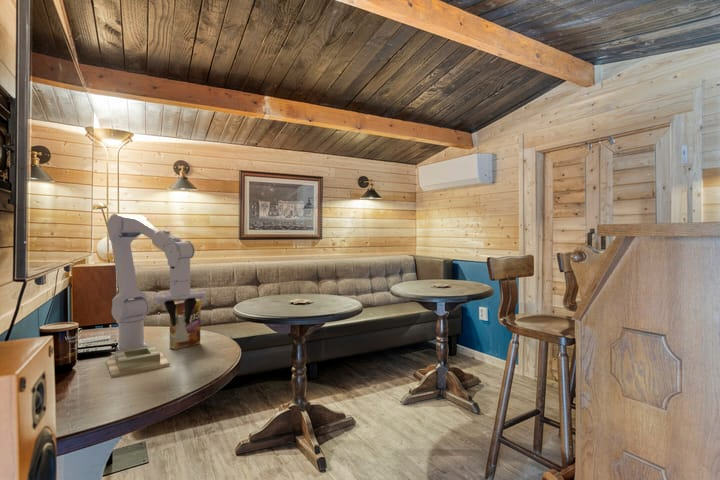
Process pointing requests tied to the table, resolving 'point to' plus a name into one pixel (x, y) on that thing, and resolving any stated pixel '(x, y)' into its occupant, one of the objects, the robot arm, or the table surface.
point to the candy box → (187, 326)
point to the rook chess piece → (181, 329)
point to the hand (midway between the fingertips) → (180, 324)
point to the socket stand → (136, 361)
